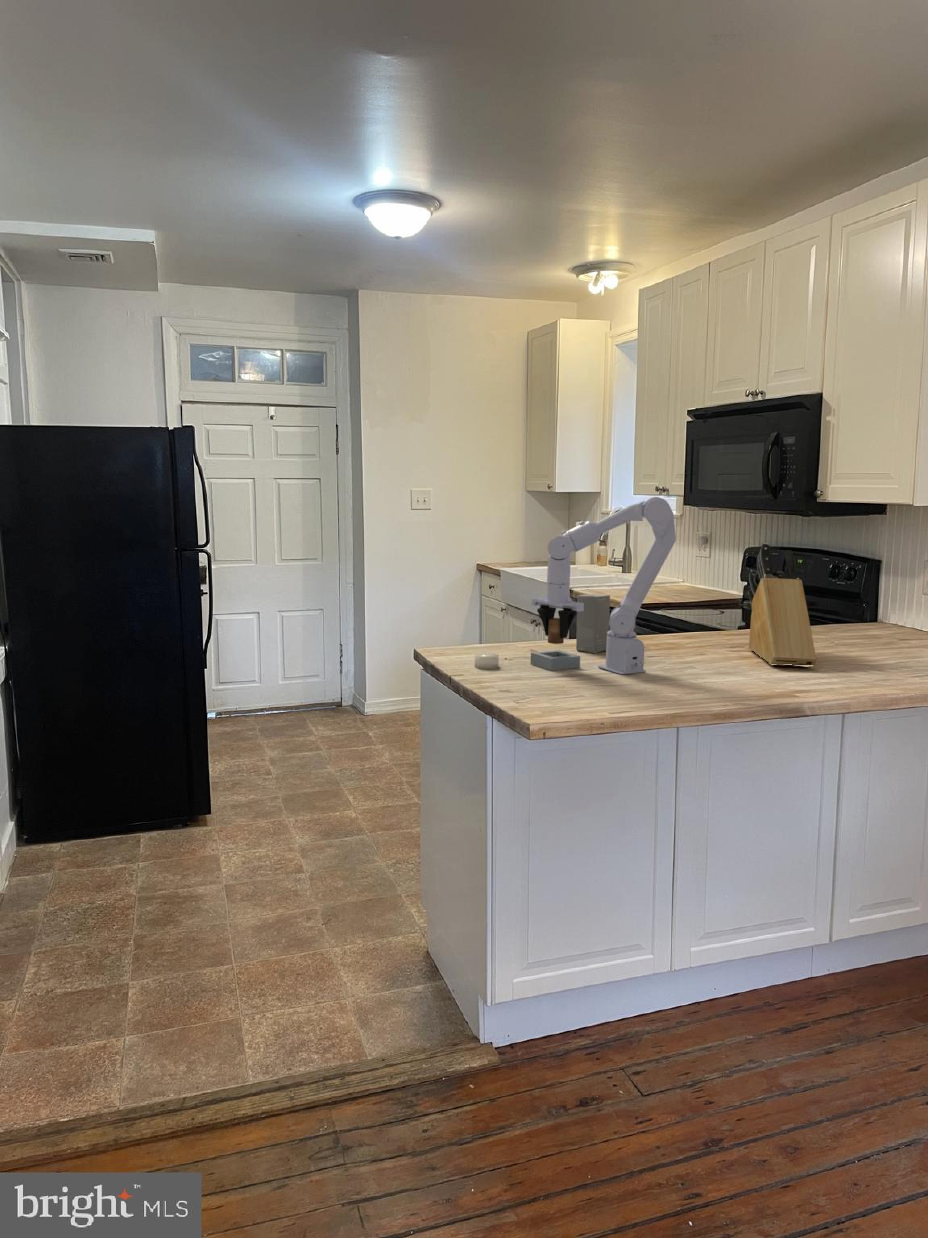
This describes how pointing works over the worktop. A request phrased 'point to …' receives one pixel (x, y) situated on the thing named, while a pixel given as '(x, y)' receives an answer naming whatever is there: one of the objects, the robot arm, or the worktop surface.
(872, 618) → the worktop surface
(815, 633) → the worktop surface
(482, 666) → the ivory rounded cylinder
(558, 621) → the walnut dowel
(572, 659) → the socket board
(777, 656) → the knife block
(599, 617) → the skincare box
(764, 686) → the worktop surface
